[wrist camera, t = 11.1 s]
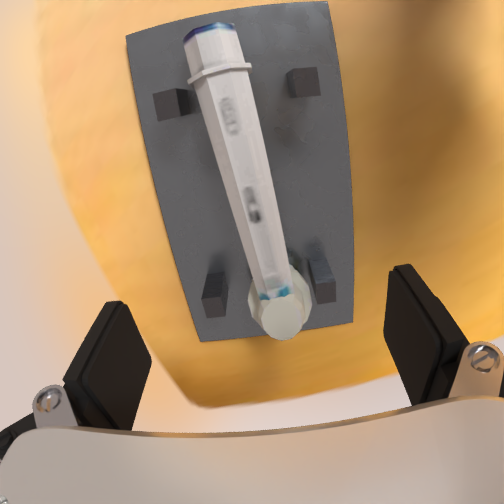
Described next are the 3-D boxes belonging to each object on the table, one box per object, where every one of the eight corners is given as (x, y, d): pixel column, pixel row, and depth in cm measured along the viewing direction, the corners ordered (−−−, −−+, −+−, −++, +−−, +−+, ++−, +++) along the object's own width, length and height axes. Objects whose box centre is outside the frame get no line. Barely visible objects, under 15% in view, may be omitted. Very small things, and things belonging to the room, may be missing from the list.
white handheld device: (243, 13, 16) (323, 353, 24) (248, 42, 23) (312, 312, 30) (165, 36, 17) (257, 366, 25) (187, 58, 23) (259, 323, 31)
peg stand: (129, 37, 21) (105, 27, 16) (324, 4, 20) (339, -14, 15) (201, 335, 34) (195, 368, 30) (350, 316, 33) (362, 348, 28)
